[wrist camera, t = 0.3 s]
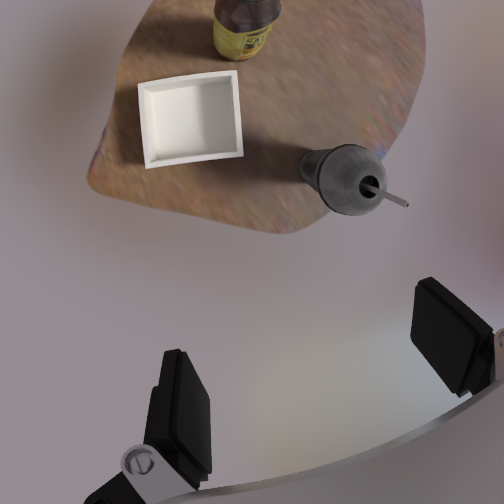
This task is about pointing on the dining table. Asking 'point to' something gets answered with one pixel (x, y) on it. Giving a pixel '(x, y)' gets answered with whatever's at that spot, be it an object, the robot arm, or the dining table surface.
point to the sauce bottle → (243, 26)
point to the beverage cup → (347, 179)
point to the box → (190, 118)
